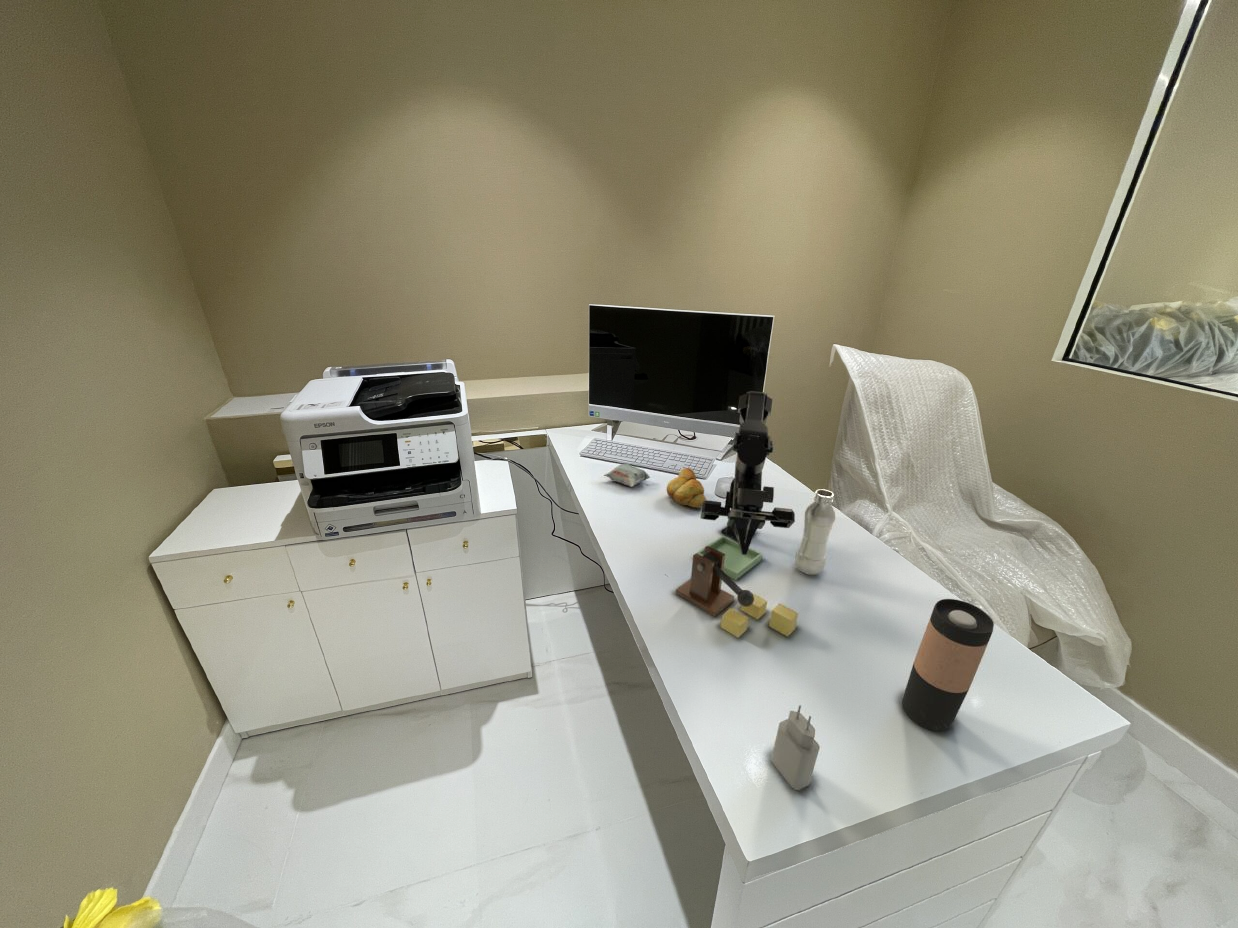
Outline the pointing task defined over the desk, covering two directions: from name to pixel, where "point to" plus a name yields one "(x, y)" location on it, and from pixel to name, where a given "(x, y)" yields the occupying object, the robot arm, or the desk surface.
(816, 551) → the plastic bottle
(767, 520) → the robot arm
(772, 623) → the block
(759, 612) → the butter
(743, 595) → the ball knob lever
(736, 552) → the tray
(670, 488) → the bread roll
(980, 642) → the travel mug
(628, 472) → the packaged food
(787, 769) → the power adapter
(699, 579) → the brown lever stand
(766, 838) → the desk surface
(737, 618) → the butter
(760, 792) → the desk surface
